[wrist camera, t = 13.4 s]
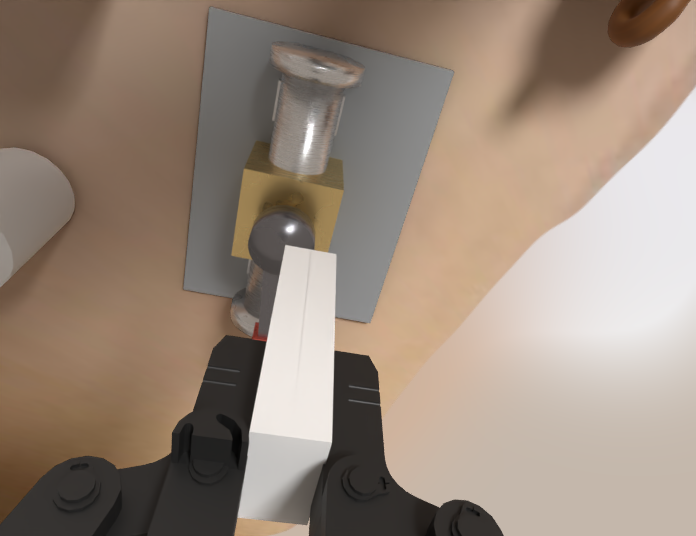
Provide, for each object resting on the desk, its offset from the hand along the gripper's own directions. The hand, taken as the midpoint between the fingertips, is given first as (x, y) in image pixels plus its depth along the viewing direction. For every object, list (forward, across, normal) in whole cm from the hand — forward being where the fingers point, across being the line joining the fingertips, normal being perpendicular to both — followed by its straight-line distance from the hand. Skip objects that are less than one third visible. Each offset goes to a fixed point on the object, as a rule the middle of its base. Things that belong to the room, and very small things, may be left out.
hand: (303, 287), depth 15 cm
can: (+27, -22, -13) cm, 37 cm away
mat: (+27, 0, -9) cm, 28 cm away
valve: (+27, -1, -9) cm, 28 cm away
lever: (+18, -1, -14) cm, 23 cm away
